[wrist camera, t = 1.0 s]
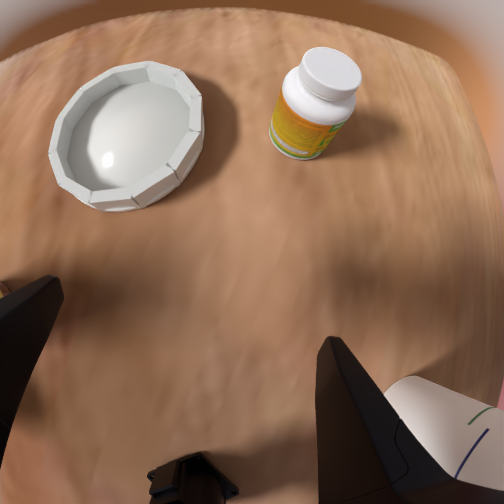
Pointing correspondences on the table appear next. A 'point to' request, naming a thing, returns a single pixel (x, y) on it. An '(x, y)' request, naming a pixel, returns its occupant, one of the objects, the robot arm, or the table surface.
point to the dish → (128, 137)
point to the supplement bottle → (314, 103)
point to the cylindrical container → (453, 429)
